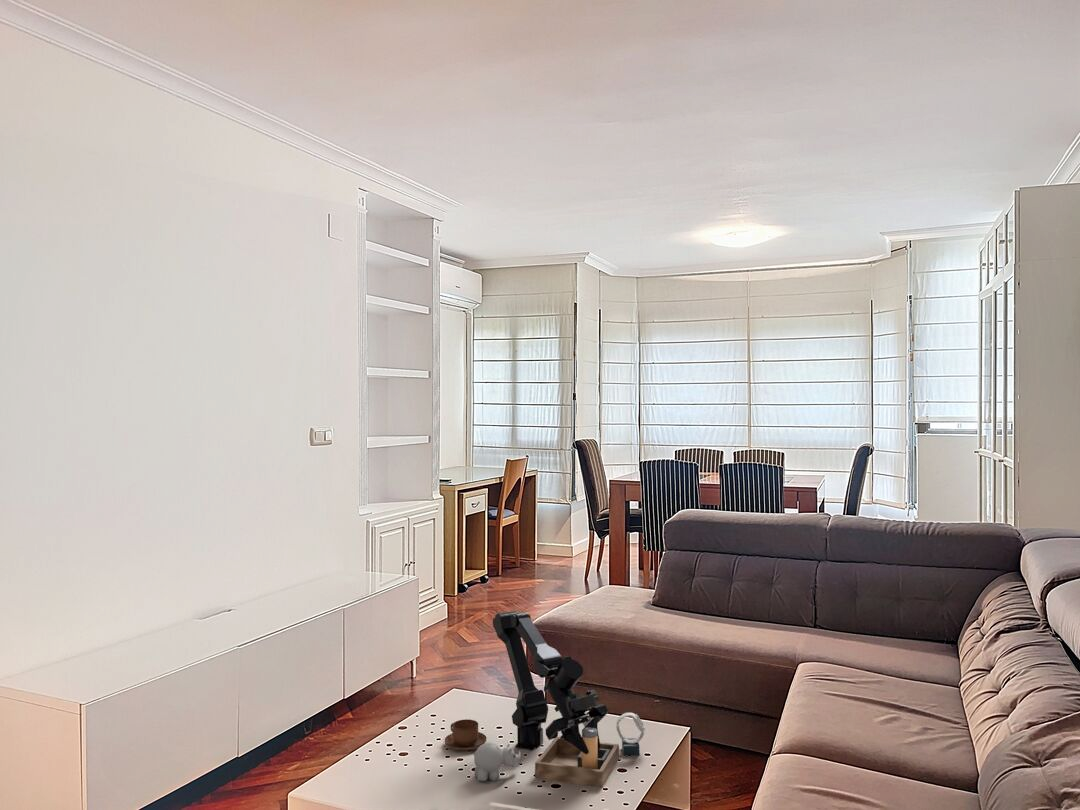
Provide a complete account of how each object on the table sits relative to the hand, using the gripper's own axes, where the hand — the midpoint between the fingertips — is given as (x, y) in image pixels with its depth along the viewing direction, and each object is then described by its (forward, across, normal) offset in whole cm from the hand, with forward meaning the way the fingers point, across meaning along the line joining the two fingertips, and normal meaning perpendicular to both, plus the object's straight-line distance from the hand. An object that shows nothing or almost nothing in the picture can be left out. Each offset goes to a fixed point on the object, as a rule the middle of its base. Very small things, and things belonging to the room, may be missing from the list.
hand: (593, 751), depth 216 cm
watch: (+2, +20, +10) cm, 22 cm away
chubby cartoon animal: (-8, -16, +19) cm, 26 cm away
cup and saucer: (-24, -10, +35) cm, 44 cm away
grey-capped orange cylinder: (+3, 0, +5) cm, 6 cm away
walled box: (0, +2, +11) cm, 11 cm away
